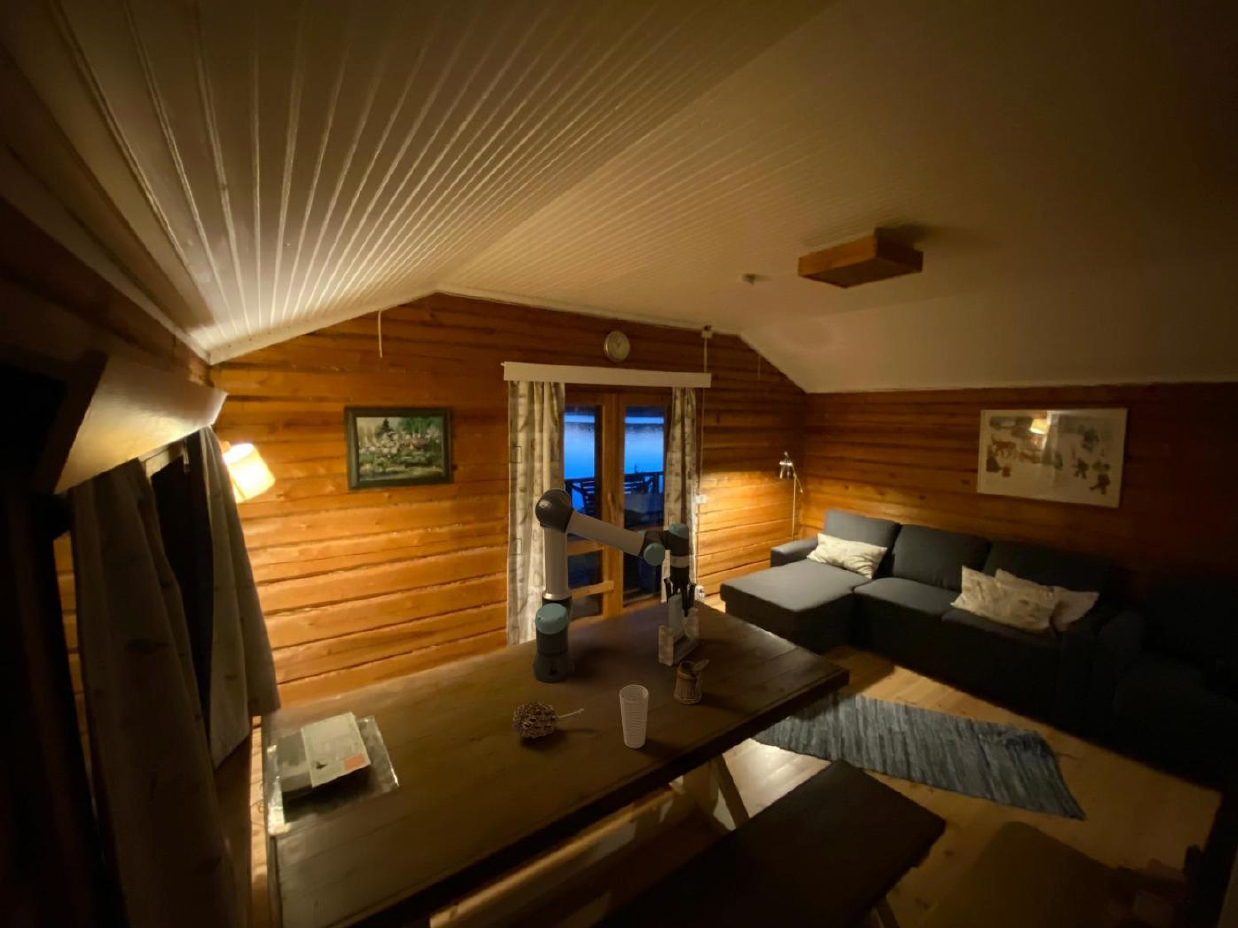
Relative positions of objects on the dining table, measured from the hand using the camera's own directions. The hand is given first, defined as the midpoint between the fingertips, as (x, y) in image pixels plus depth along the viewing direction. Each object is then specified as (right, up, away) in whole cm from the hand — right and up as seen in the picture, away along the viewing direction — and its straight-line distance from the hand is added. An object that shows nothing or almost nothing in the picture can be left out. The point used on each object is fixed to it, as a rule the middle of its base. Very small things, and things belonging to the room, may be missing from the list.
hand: (680, 622), depth 197 cm
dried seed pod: (-44, -20, -43) cm, 65 cm away
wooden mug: (0, -17, -29) cm, 33 cm away
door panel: (0, -3, 0) cm, 3 cm away
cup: (-19, -20, -48) cm, 55 cm away
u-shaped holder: (0, -12, +2) cm, 12 cm away
